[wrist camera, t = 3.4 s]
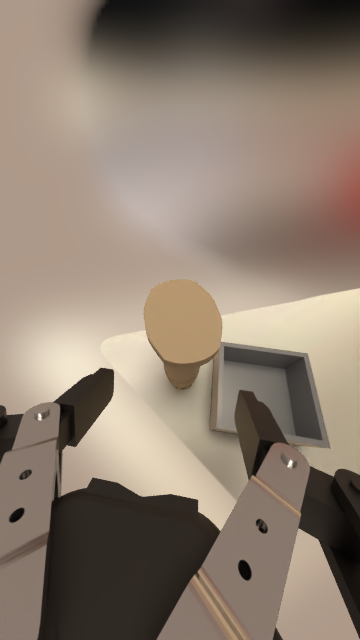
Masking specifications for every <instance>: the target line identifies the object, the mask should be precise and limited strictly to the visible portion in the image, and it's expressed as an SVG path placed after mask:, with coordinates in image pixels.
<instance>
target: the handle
mask: <svg viewBox="0 0 360 640" xmlns="http://www.w3.org/2000/svg"><path fill="white" fill-rule="evenodd" d="M144 321H145V328H146V333H147V337H148V340H149V343H150V344H151V346H152V347H153V349H154V350H155V352H156V353H157V355H158V356H159V357H160V359H161V360H162V361H163V362H164V369H165V372H166V375H167V377H168V379H169V381H170V382H171V383H172V384H173V385H174V386H176V388H177V389H182V388H185V387H187V388H189V387H190V386H191V385H192V383H193V382H194V380H195V379H196V377H197V375H198V372H199V368H200V366H202V365H204V364H206V363H208V362H209V361H210V360H211V359H213V358H214V356H215V355H216V354H217V353H218V351H219V348H220V343H221V335H222V319H221V316H220V313H219V311H218V308H217V306H216V304H215V302H214V300H213V298H212V297H211V295H210V294H209V293H208V292H207V291H206V290H204V289H203V288H202V287H201V286H200V285H199V284H197V283H196V282H194V281H191V280H171V281H167V282H164V283H161V284H159V285H157V286H155V287H154V288H152V289H151V291H150V294H149V296H148V298H147V301H146V303H145V307H144Z"/></svg>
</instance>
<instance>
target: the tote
mask: <svg viewBox="0 0 360 640" xmlns="http://www.w3.org/2000/svg"><path fill="white" fill-rule="evenodd" d="M239 390H246V391H253V392H254V394H255V396H256V398H257V400H258V401H260V402H263V403H264V404H265V405H266V406H267V407H268V408H269V409H270V411H271V413H272V415H273V417H274V418H275V420H276V423H277V424H278V426H279V428H280V429H281V431H282V433H283V435H284V437H285V439H286V441H287V442H288V444H293V445H299V446H309V447H320V448H330V445H329V441H328V437H327V432H326V428H325V424H324V420H323V416H322V412H321V408H320V403H319V399H318V395H317V391H316V387H315V383H314V378H313V374H312V370H311V366H310V362H309V358H308V354H307V353H300V352H292V351H285V350H278V349H270V348H263V347H256V346H248V345H241V344H233V343H226V342H221V343H220V348H219V351H218V353H217V354H216V355H215V356H214V361H213V378H212V395H211V413H210V430H216V431H221V432H227V433H232V434H238V433H237V429H236V425H235V419H234V415H235V408H236V403H237V398H238V393H239Z"/></svg>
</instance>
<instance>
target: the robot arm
mask: <svg viewBox="0 0 360 640" xmlns="http://www.w3.org/2000/svg"><path fill="white" fill-rule="evenodd" d="M113 390H114V371H113V370H112V369H106V368H100V369H99V370H98V371H96V373H94V374H90V375H88V376H86V377H84V378H82V379H81V380H80V381H78V382H77V384H75V385H74V386H72V388H70V389H69V390H68V391H66V392H65V393H64V394H63V395H61V396H60V397H59V398H58V399H56V400H55V401H54V402H50V403H49V402H48V403H42V404H39V405H37V406H34V407H32V408H31V409H29V410H28V411H26V412H25V414H17V415H7V414H6V408H5V407H4V406H1V405H0V640H283V639H282V638H281V636H280V634H279V632H278V630H277V629H276V622H277V618H278V613H279V609H280V605H281V600H282V596H283V592H284V587H285V583H286V579H287V574H288V570H289V566H290V561H291V557H292V552H293V547H294V544H295V539H296V535H297V531H298V528H299V529H301V530H303V531H305V532H306V533H308V534H310V535H312V536H313V537H315V538H317V539H318V540H319V542H320V544H321V547H322V549H323V552H324V554H325V556H326V559H327V561H328V564H329V566H330V568H331V571H332V573H333V576H334V578H335V580H336V583H337V585H338V588H339V590H340V592H341V595H342V597H343V599H344V602H345V605H346V607H347V609H348V612H349V614H350V617H351V619H352V621H353V624H354V626H355V629H356V631H357V633H358V636H359V638H360V475H358V474H356V473H354V472H352V471H349V470H346V469H339V470H337V471H336V472H335V475H334V477H333V476H331V475H328V474H326V473H324V472H322V471H319V470H317V469H315V468H313V467H311V466H309V463H308V462H307V460H306V458H305V457H304V456H303V455H302V454H301V453H300V452H299V451H298V450H296V449H295V448H293V447H291V446H289V444H288V442H287V441H286V439H285V437H284V435H283V433H282V431H281V429H280V428H279V426H278V424H277V423H276V420H275V418H274V417H273V415H272V413H271V411H270V409H269V408H268V407H267V406H266V405H265V404H264V403H263V402H260V401H258V400H257V398H256V396H255V394H254V392H253V391H246V390H239V393H238V398H237V403H236V408H235V415H234V419H235V425H236V429H237V433H238V438H239V442H240V446H241V450H242V454H243V458H244V462H245V466H246V471H247V475H248V479H249V482H248V483H247V485H246V487H245V489H244V491H243V492H242V494H241V496H240V498H239V500H238V501H237V503H236V505H235V507H234V509H233V511H232V512H231V514H230V516H229V518H228V519H227V521H226V523H225V525H224V527H223V529H222V530H221V531H220V530H219V529H218V528H217V527H216V526H215V525H214V524H213V523H212V522H211V521H210V520H209V519H208V518H206V517H205V516H204V515H203V514H201V513H199V512H198V500H196V499H191V498H187V497H182V496H177V495H172V494H168V495H159V496H148V497H141V496H139V495H137V494H135V493H134V492H132V491H130V490H128V489H127V488H125V487H124V486H122V485H120V484H119V483H116V482H111V481H106V480H102V479H97V478H92V480H91V482H90V483H89V485H88V487H87V488H84V489H79V490H76V491H73V492H70V493H67V494H65V495H63V496H61V481H62V455H63V454H62V450H63V449H64V448H65V447H66V445H68V446H73V447H76V446H77V444H78V443H79V442H80V440H81V439H82V438H83V436H84V435H85V434H86V432H87V431H88V430H89V428H90V427H91V426H92V425H93V423H94V422H95V421H96V419H97V418H98V417H99V415H100V414H101V412H102V411H103V410H104V409H105V407H106V406H107V405H108V403H109V402H110V400H111V398H112V396H113Z"/></svg>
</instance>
